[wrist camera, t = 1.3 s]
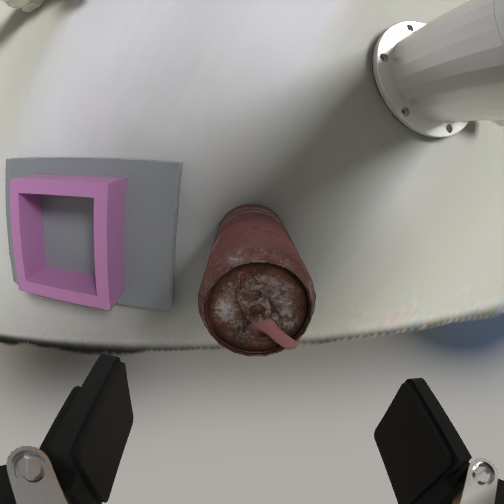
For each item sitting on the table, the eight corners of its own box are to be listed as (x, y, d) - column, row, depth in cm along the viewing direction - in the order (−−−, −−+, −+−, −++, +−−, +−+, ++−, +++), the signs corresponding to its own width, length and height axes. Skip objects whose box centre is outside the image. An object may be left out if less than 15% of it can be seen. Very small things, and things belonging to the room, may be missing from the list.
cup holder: (182, 162, 26) (167, 165, 20) (172, 304, 30) (160, 334, 25) (14, 158, 24) (-19, 163, 19) (20, 276, 29) (-6, 295, 23)
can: (259, 280, 29) (270, 380, 16) (204, 242, 28) (172, 323, 15) (300, 232, 28) (347, 305, 15) (245, 189, 27) (246, 228, 13)
